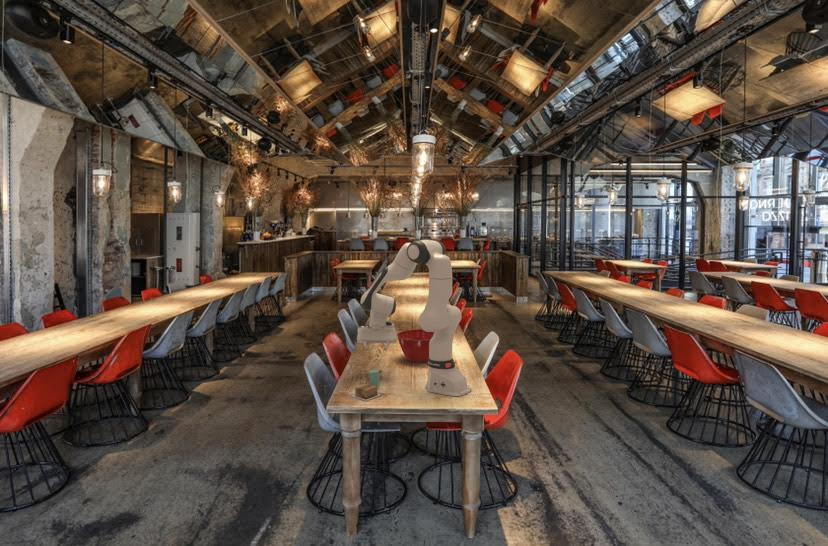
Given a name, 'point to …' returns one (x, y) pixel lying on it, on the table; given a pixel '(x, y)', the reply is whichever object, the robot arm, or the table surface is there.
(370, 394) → the base block
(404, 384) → the table surface
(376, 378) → the pillar
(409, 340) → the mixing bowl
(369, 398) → the board
